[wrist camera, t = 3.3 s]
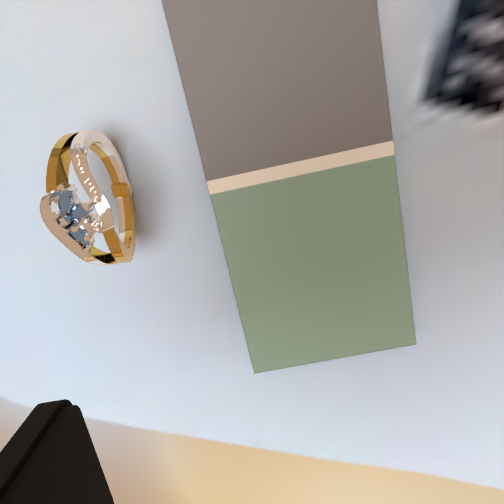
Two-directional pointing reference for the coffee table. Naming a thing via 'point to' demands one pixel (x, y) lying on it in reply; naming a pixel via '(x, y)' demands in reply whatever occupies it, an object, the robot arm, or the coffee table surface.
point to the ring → (72, 208)
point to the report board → (299, 172)
